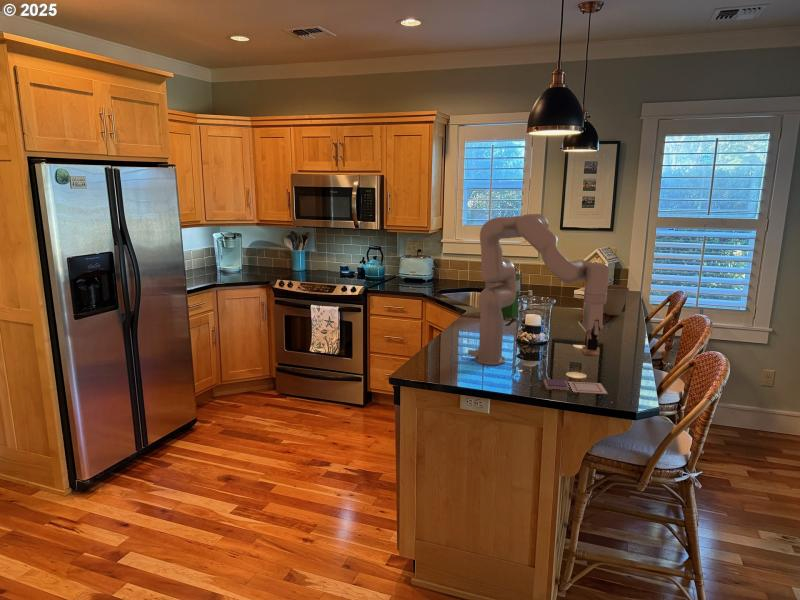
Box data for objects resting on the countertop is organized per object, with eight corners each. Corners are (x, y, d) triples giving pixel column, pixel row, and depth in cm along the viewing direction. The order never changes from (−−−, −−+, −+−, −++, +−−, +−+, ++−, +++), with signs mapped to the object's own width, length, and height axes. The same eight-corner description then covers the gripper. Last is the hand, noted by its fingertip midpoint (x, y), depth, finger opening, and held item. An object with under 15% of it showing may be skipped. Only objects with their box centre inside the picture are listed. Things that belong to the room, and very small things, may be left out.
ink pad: (546, 389, 191) (546, 385, 190) (543, 382, 197) (543, 378, 197) (569, 390, 190) (569, 386, 189) (565, 383, 196) (565, 379, 196)
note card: (572, 392, 188) (572, 391, 188) (567, 382, 198) (567, 381, 198) (607, 394, 187) (607, 393, 187) (600, 383, 196) (600, 382, 196)
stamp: (584, 355, 188) (586, 323, 185) (581, 352, 192) (584, 321, 189) (598, 356, 187) (601, 324, 185) (596, 353, 191) (598, 321, 189)
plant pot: (595, 314, 307) (597, 287, 304) (604, 310, 318) (607, 284, 315) (621, 318, 297) (624, 290, 294) (630, 313, 308) (633, 287, 305)
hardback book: (484, 313, 305) (485, 272, 300) (490, 311, 311) (492, 271, 306) (511, 318, 295) (514, 276, 290) (517, 316, 300) (520, 274, 295)
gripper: (579, 293, 194) (575, 341, 197) (589, 302, 178) (584, 354, 181) (600, 293, 193) (596, 342, 197) (612, 303, 177) (607, 355, 181)
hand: (590, 347), depth 189 cm, fingers closed on stamp, 3 cm apart
